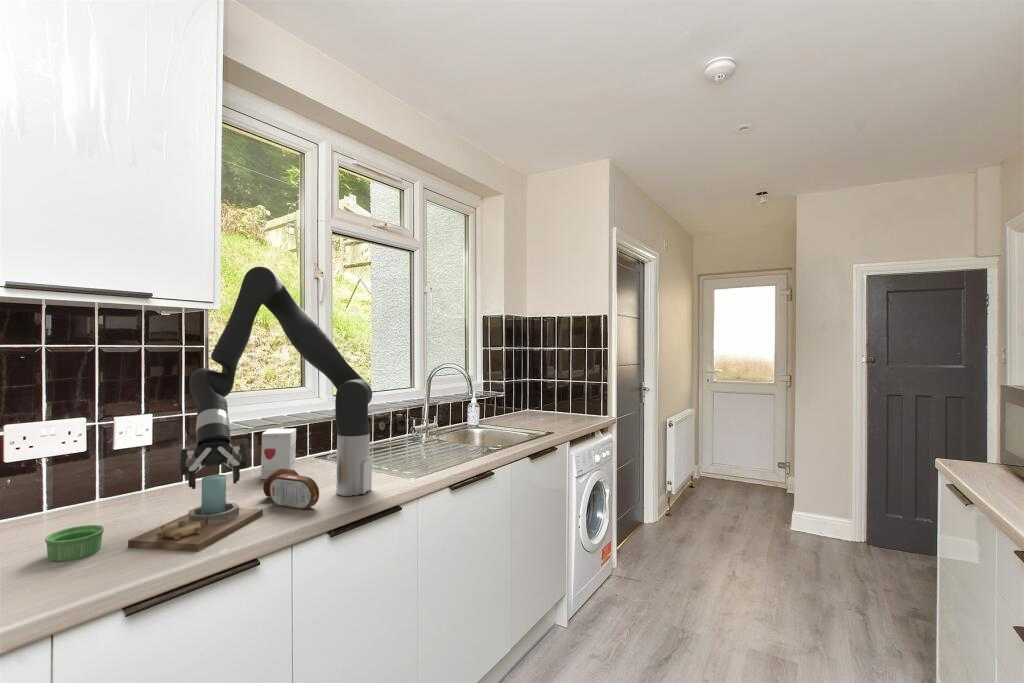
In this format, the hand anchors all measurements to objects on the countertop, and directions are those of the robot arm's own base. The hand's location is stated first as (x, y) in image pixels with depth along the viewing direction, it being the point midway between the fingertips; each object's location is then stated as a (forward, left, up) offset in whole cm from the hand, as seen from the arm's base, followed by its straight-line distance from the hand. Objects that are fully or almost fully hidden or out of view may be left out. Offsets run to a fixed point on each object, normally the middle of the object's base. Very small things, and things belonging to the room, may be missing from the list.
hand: (215, 484), depth 116 cm
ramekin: (+16, +19, -10) cm, 27 cm away
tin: (-12, -14, -10) cm, 21 cm away
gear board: (0, +4, -9) cm, 10 cm away
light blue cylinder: (0, 0, -8) cm, 8 cm away
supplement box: (+10, -43, -10) cm, 45 cm away
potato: (-4, -23, -10) cm, 25 cm away
